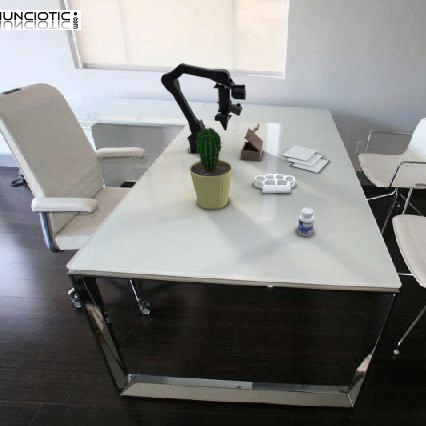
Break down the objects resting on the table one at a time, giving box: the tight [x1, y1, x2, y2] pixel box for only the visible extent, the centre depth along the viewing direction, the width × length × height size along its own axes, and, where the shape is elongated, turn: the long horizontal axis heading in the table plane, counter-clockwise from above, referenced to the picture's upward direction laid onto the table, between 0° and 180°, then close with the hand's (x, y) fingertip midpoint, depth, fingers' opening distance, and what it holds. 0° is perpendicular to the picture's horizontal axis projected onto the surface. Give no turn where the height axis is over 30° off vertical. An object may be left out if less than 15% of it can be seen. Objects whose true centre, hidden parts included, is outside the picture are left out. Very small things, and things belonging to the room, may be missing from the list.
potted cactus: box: [188, 125, 233, 210], centre depth 115 cm, size 15×15×30 cm
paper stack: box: [282, 145, 329, 173], centre depth 165 cm, size 23×25×1 cm
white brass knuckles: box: [253, 173, 296, 194], centre depth 137 cm, size 3×18×15 cm
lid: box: [244, 123, 264, 152], centre depth 159 cm, size 10×14×7 cm
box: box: [240, 141, 264, 162], centre depth 164 cm, size 10×14×5 cm
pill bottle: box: [297, 207, 315, 237], centre depth 109 cm, size 5×5×9 cm
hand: (225, 130), depth 158 cm, fingers closed
